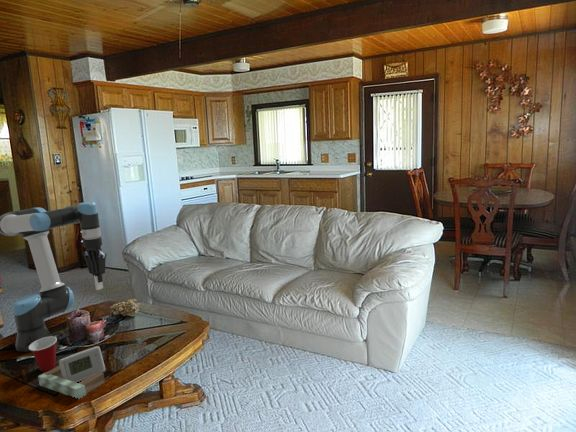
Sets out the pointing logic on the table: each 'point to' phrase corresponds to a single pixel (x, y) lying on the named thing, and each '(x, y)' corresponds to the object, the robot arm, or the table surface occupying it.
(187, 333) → the table surface
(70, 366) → the digital clock
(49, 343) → the plastic cup
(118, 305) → the mineral formation
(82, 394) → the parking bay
